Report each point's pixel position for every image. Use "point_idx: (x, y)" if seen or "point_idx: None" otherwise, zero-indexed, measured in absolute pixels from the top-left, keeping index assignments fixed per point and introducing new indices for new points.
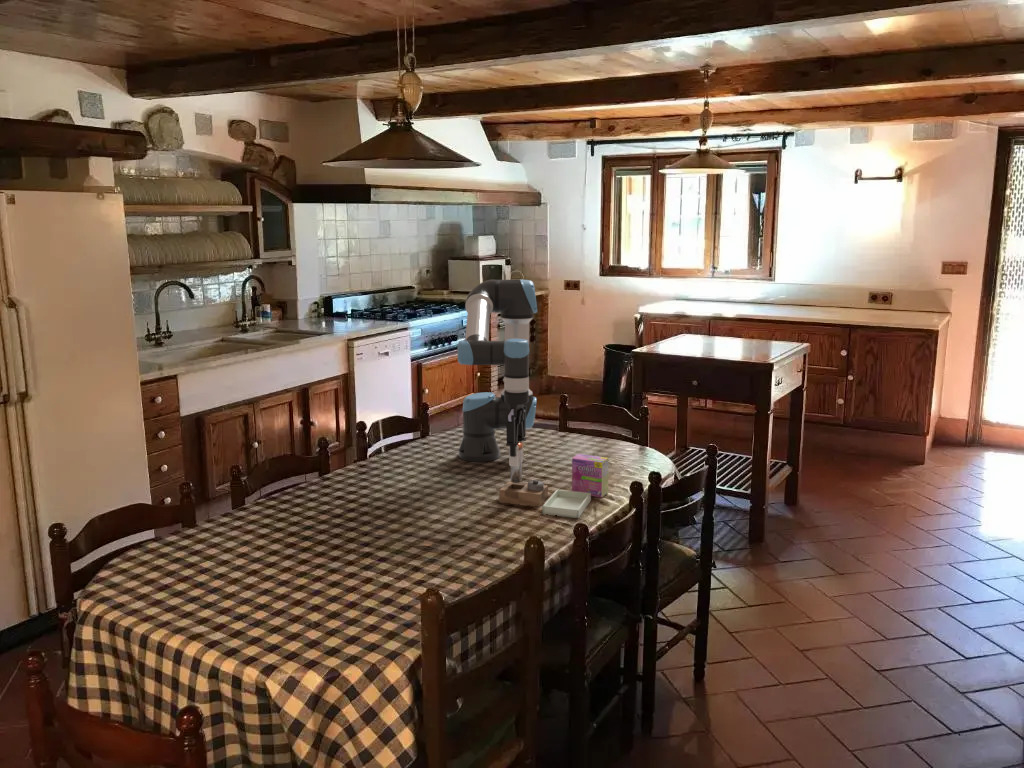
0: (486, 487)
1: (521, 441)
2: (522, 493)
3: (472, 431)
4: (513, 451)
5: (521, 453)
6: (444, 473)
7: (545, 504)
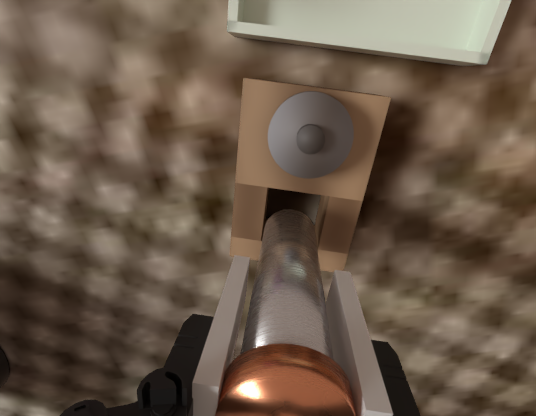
0: (202, 299)
1: (199, 395)
2: (366, 181)
3: None
4: (408, 392)
5: (292, 309)
6: (129, 399)
7: (464, 52)
